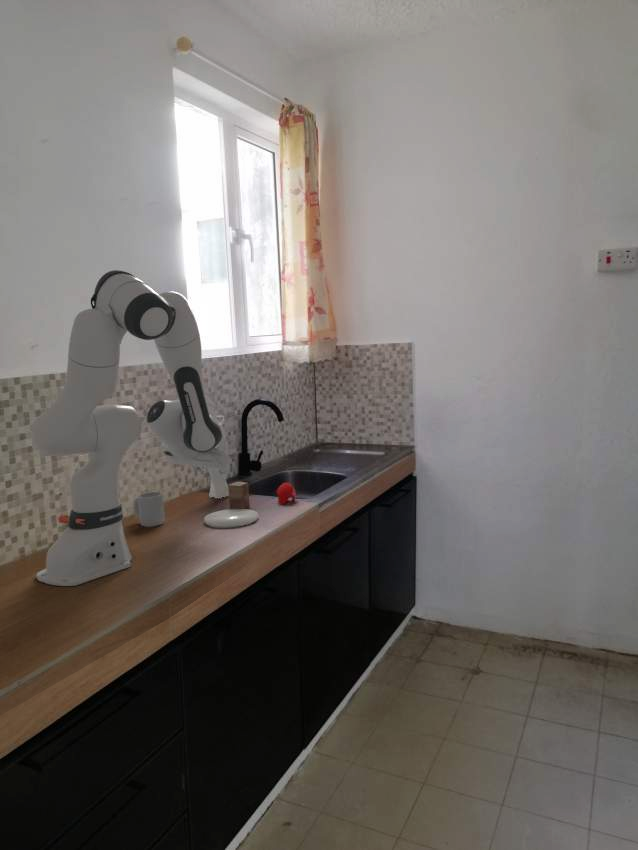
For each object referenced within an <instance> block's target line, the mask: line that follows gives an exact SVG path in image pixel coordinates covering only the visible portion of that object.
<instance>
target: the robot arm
mask: <svg viewBox="0 0 638 850" xmlns="http://www.w3.org/2000/svg"><path fill="white" fill-rule="evenodd" d="M90 306H91V308H88V309H85V310H82V311H80V312H78V313H77V315H76V316H75V318H74V320H73V324H72V328H71V331H70V332H71V333H70V337H69V343H68V354H67V355H68V356H67V369H66V375H65V377H66V378H65V382H64V386H63V387H62V388H63V389H62V390H61V393H60V394H59V396H58V397H57V399H56V400H55V402H54V403H53V404H52V405H50V406H49V408H47V410H45V411H44V412H42V413H41V414H39V415H38V416H37V417H36V418H35V420H34V421H33V423H32V426H31V431H30V436H31V440H32V443H33V445H34V447H35V448H36V449H37V451H39V452H40V453H41V454H42V455H44V456H56V457H59V456H60V457H67V456H73V455H79V454H80V455H81V454H87V453H90V457H89V459H88V461H87V462H86V464H85V465H83V466H82V467H81V468H79V469H78V470H76V471H75V472H74V473H73V474H72V477H71V479H70V481H69V487H70V488H69V489H70V499H71V507H72V508H71V510H70V514H69V515H65V514H59V515H58V517H57V521H58V523H60V524H67V528H65V530H64V531H63V533H62V534H61V535H59V537H58V538H57V540H56V541H55V542H54V543H53V544H52V546H50V548H49V549H48V550H47V553H46V557H45V558H46V560H45V568H44V569H41V570H39V571H38V572H37V573H36V579H37V580H38V581H39V582H41V583H43V582H44V584H48V585H52V586H60V587H72V586H75V587H76V586H79V585H81V584H84V583H87V582H89V581H93V580H95V579H98V578H102V577H104V576H107V575H111V574H112V573H116V572H119V571H123V570H125V569H127V568H129V567H132V564H131V560H132V558H133V557H132V554H131V552H130V549H129V546H128V544H127V540H126V536H125V535H126V534H125V532H124V531H125V530H124V526H123V521H122V520H123V519H124V516H123V506H122V503H120V491H119V490H120V487H119V486H120V485H119V482H120V481H119V474H120V469H121V465H122V462H123V460H124V457H125V455H126V454H127V452H128V451H129V449H130V448H131V447H132V446H133V445H134V444H135V443H137V441H138V439H139V438H140V436H141V433H142V428H143V425H142V419H141V416H140V415H139V412H138V411H137V410H136V409H135V408H134V407H133V406H131V405H126V404H125V405H124V404H114V403H113V404H102V403H103V402H105V401H106V400H108V399H109V398H111V396H113V394H114V393H115V391H116V389H117V386H118V380H119V369H120V368H119V367H120V355H121V344H122V341H123V338H124V337H125V335H126V334H127V332H128V334H130V335H131V336H134V337H135V338H137V339H140V340H145V341H151V340H154V344H155V346H156V349H157V351H158V354H159V355H160V359H161V360H162V362H163V365H164V367H165V369H166V371H167V372H168V375H169V378H170V379H171V381H172V384H173V386H174V388H175V390H176V393H177V396H178V399H173V400H165V399H160V400H158V401H156V402H155V403H154V404H153V405H152V406H150V408H149V410H148V412H147V413H146V423H147V426H148V428H149V429H150V431H152V433H153V434H154V435H155V436H156V437H157V438H158V439H159V441H161V442H163V443H165V444H164V446H163V448H162V450H161V452H162V454H163V455H165V456H167V457H168V458H169V459H170V460H171V461H173V462H174V463H175V464H177V465H179V466H188V467H190V468H192V469H194V470H195V471H196V472H198V473H203V471H204V470H205V468H207V469H208V468H216V469H220V470H219V472H220V473H221V474H224V475H226V476H227V473H228V467H229V466H230V463H231V461H232V458H231V457H230V455H229V454H228V455H227V454H226V453H225V452H224V451H223V450H222V449H221V448H219V447H217V445H218V444H219V443H220V441H221V439H222V433H221V430H220V427H219V423H218V421H219V419H218V417H217V416H218V415H217V412H216V411H217V410H216V406H215V401H214V399H213V398H212V396H210V395H209V394H208V393H205V392H204V388H203V387H204V386H203V373H202V372H203V367H202V366H203V365H202V364H203V363H202V362H203V361H202V355H203V354H202V341H201V335H200V331H199V328H198V324H197V320H196V318H195V315H194V313H193V310H192V308H191V305H190V303H189V301H188V300H187V298H186V297H185V296H184V295H183V294H181V293H179V292H176V291H164V292H161V293H159V294H158V293H157V292H156V291H155V290H153V288H151V286H149V284H147V283H145V282H144V281H142V280H141V279H139V278H137V277H136V276H134V275H133V274H132V273H129V272H127V271H124V270H118V269H117V270H115V269H114V270H110V271H107V272H106V273H104V274H103V275H102V276H101V277H100V278H99V280H98V281H97V284H96V286H95V288H94V292H93V294H92V296H91V298H90ZM100 404H102V405H100Z"/></svg>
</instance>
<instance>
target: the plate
mask: <svg viewBox="0 0 638 850" xmlns="http://www.w3.org/2000/svg"><path fill="white" fill-rule="evenodd" d="M257 519H258V520H259V513H258V512H257V511H255V510H252V509H248V508H246V509H230V508H229V509H222V510H218V511H213V512H210V513H208V514H206V516H204V524H205V526H207V527H209V526H210V528H214V527H215V529H233V527H235V528H240V527H239V526H241V527H245V526H244V525H246V526H249V525H251V523H252V524H254V523H255V521H256V522H257V521H258V520H257ZM253 522H254V523H253ZM248 524H249V525H248Z"/></svg>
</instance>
